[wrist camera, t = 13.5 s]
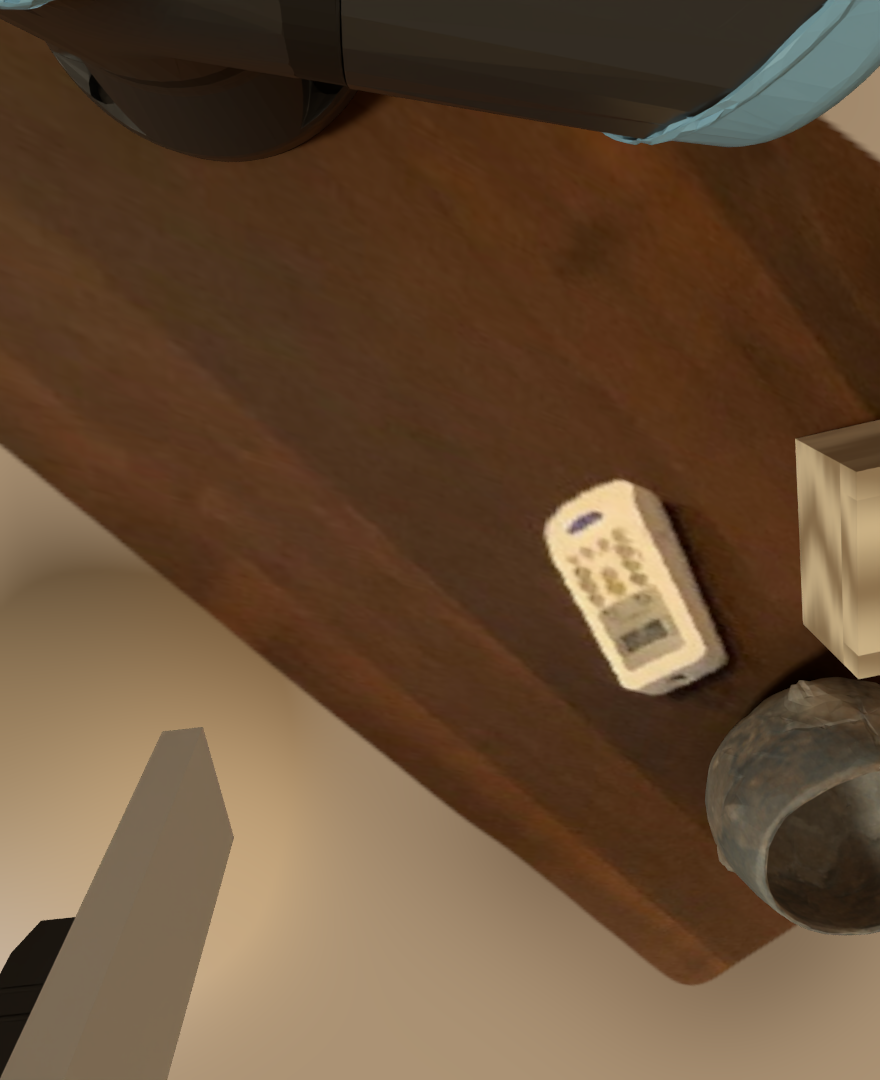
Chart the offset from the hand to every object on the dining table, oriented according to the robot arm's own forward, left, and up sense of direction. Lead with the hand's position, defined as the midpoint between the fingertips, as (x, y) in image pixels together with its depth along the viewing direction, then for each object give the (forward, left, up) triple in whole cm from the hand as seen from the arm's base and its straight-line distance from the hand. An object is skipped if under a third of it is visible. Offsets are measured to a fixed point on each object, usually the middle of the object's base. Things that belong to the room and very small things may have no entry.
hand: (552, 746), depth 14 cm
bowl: (+23, +21, -28) cm, 42 cm away
